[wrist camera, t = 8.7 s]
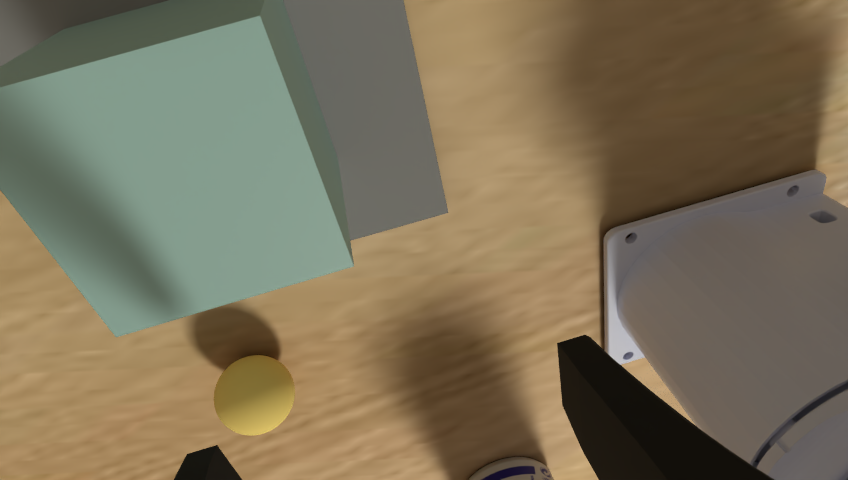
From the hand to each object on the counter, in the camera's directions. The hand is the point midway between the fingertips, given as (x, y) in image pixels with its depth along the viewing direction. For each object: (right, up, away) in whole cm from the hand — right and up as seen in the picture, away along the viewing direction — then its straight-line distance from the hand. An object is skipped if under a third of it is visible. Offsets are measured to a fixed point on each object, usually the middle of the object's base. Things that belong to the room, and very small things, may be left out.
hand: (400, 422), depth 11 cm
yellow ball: (-6, -1, +11) cm, 13 cm away
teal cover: (-6, +8, +4) cm, 11 cm away
